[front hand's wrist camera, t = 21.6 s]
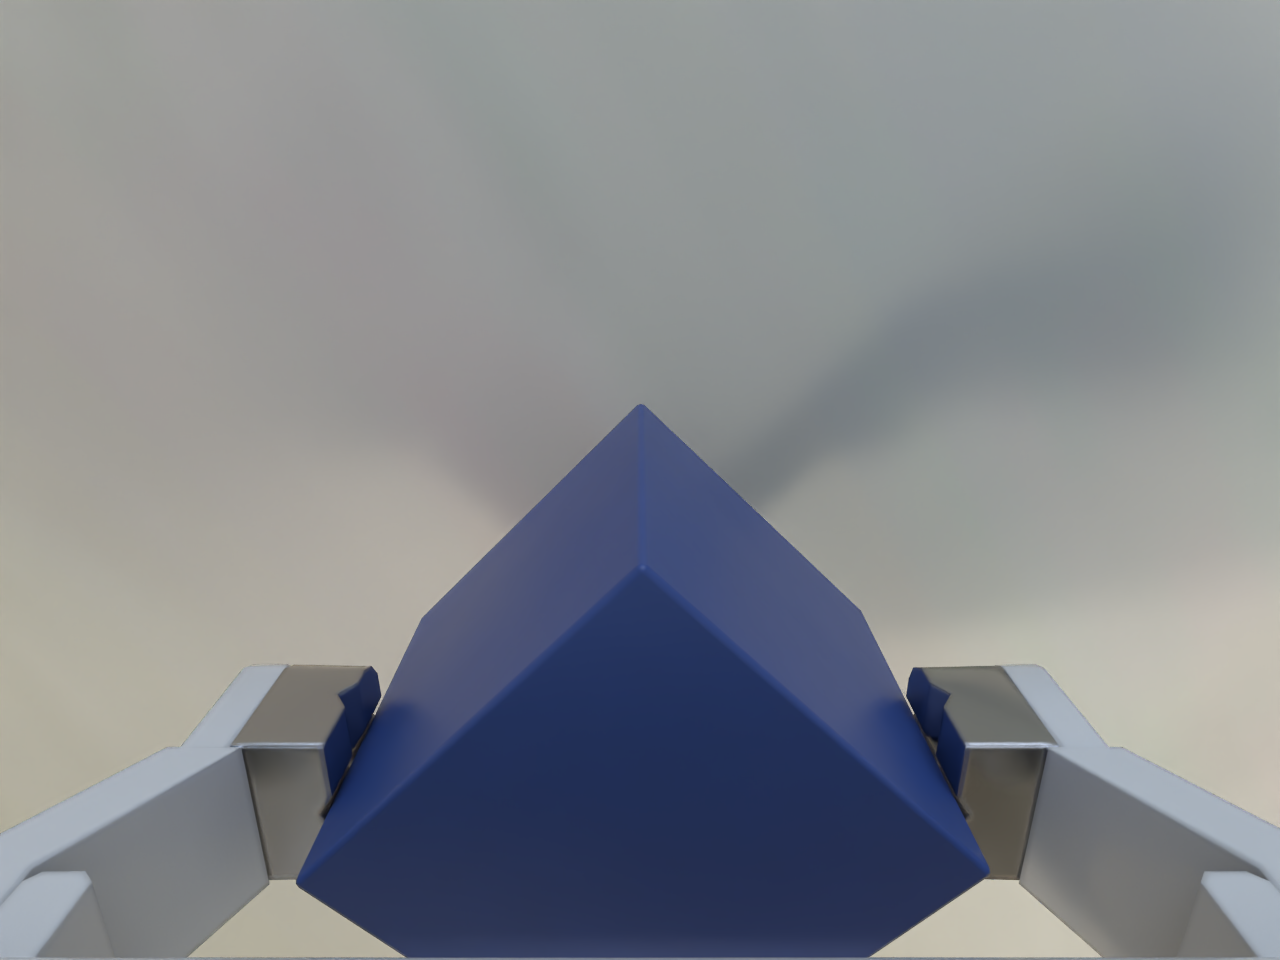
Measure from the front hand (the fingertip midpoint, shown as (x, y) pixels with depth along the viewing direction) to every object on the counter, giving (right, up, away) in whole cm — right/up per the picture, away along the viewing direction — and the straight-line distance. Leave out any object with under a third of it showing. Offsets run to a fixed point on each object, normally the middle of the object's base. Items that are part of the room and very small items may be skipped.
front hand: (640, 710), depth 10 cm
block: (0, +1, +2) cm, 2 cm away
